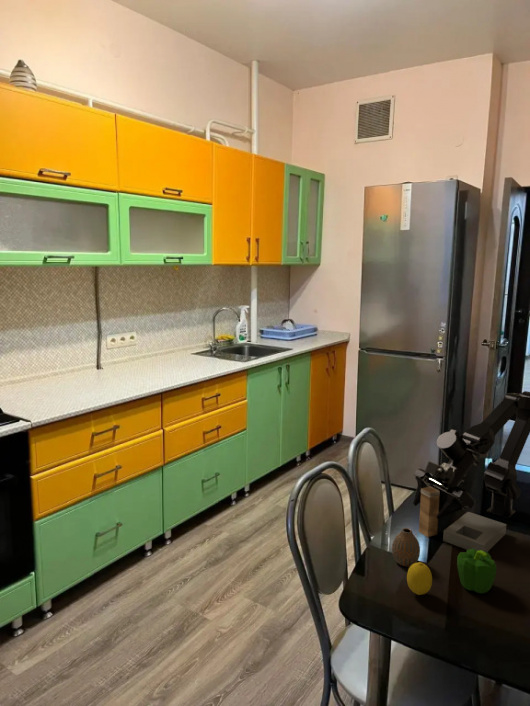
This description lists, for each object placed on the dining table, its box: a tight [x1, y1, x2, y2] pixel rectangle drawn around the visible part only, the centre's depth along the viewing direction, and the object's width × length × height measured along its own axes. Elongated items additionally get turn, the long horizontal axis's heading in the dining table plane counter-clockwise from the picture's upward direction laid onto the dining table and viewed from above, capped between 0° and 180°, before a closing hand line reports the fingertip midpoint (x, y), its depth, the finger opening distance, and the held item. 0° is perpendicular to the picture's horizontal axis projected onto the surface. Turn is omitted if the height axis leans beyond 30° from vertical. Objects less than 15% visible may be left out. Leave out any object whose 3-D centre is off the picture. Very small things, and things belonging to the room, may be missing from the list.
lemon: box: [406, 561, 433, 596], centre depth 118 cm, size 6×6×8 cm
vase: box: [391, 527, 421, 568], centre depth 132 cm, size 7×7×9 cm
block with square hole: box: [442, 511, 507, 553], centre depth 145 cm, size 16×11×3 cm
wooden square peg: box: [418, 486, 441, 538], centre depth 146 cm, size 4×4×13 cm
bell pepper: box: [456, 548, 497, 594], centre depth 121 cm, size 8×8×10 cm
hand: (425, 511), depth 145 cm, fingers open, 9 cm apart
